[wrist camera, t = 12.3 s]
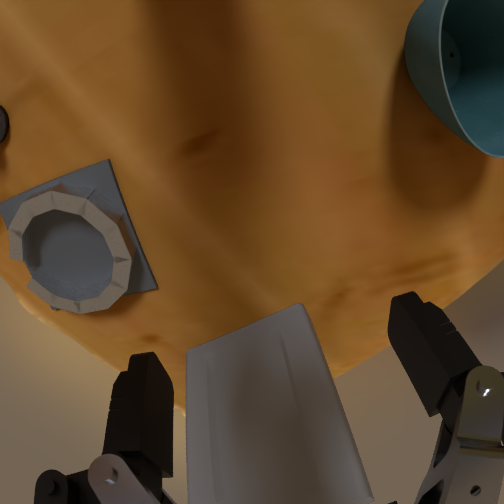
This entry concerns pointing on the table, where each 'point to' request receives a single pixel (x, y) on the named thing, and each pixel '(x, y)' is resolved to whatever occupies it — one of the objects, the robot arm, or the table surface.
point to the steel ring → (98, 215)
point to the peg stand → (3, 123)
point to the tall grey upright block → (268, 419)
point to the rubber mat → (79, 236)
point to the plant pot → (461, 67)
